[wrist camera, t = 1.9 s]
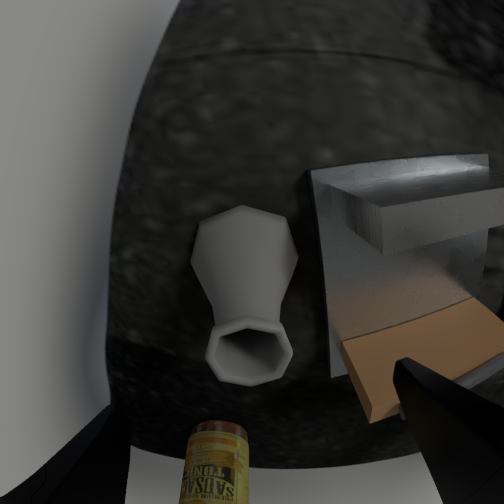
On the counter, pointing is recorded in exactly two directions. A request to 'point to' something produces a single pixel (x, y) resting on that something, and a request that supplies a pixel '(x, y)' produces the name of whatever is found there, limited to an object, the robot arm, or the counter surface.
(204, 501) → the sauce bottle
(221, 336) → the flask
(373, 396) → the block
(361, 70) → the counter surface
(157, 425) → the counter surface
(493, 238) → the counter surface
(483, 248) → the vise base
